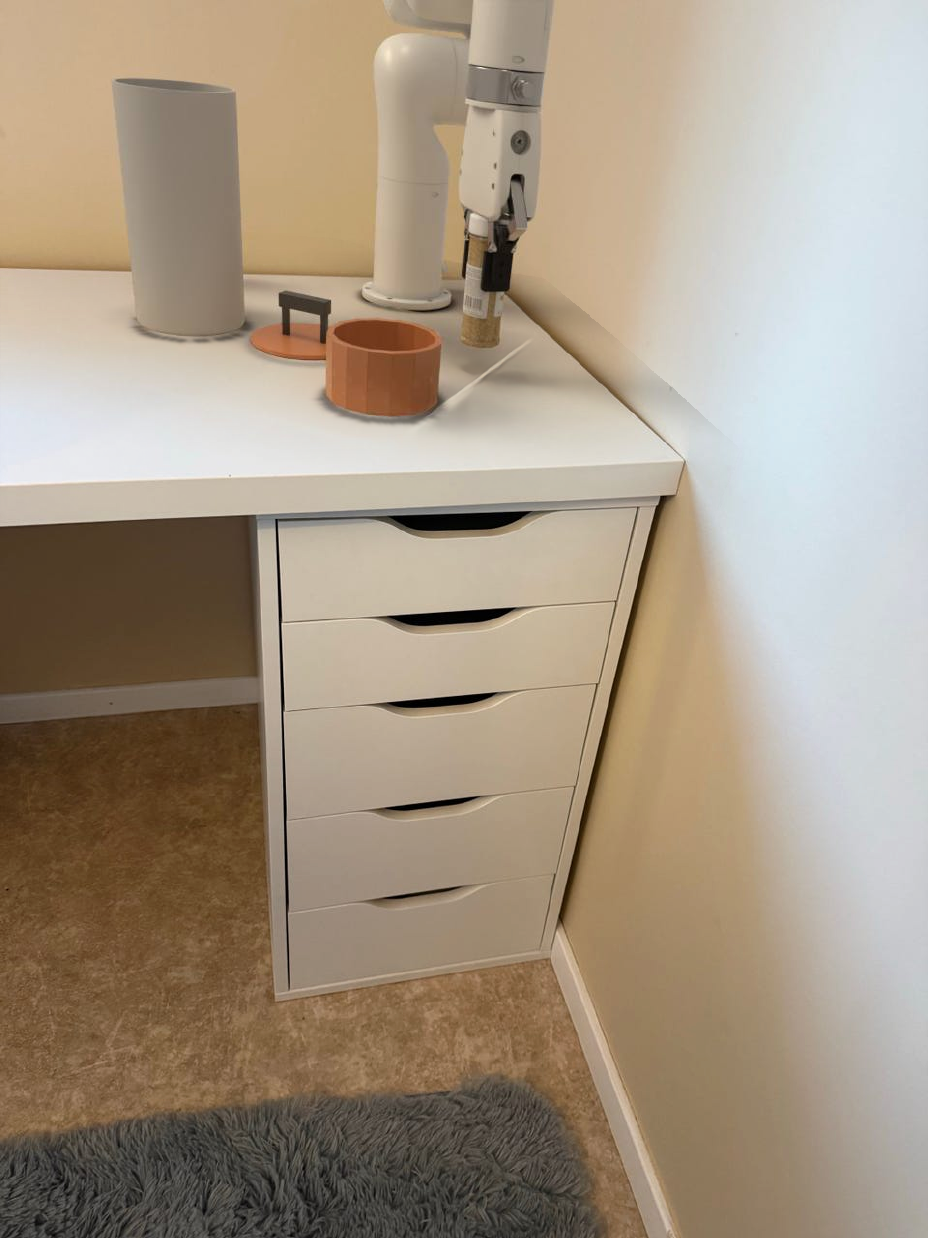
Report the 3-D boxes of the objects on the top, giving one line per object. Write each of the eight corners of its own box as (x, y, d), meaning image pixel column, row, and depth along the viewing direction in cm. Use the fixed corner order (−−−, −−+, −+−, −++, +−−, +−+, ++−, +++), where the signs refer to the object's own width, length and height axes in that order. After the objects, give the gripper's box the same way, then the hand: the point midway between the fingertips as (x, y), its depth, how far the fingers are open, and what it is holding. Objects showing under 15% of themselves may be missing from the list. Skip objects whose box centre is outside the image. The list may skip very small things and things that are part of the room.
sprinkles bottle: (507, 347, 101) (522, 218, 93) (473, 350, 98) (486, 218, 91) (483, 335, 104) (497, 209, 97) (450, 338, 102) (461, 209, 94)
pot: (358, 374, 100) (360, 311, 96) (453, 396, 96) (459, 332, 93) (305, 404, 90) (305, 336, 87) (408, 430, 87) (412, 361, 84)
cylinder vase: (114, 327, 105) (85, 78, 91) (176, 304, 115) (158, 76, 101) (209, 347, 102) (193, 94, 88) (264, 321, 112) (257, 90, 98)
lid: (287, 325, 112) (286, 276, 109) (375, 345, 109) (377, 295, 105) (230, 350, 102) (227, 297, 99) (325, 372, 99) (325, 318, 96)
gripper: (579, 102, 83) (551, 305, 93) (502, 85, 95) (484, 266, 105) (506, 96, 80) (484, 306, 90) (437, 80, 93) (425, 265, 103)
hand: (485, 282), depth 98 cm, fingers closed on sprinkles bottle, 4 cm apart
